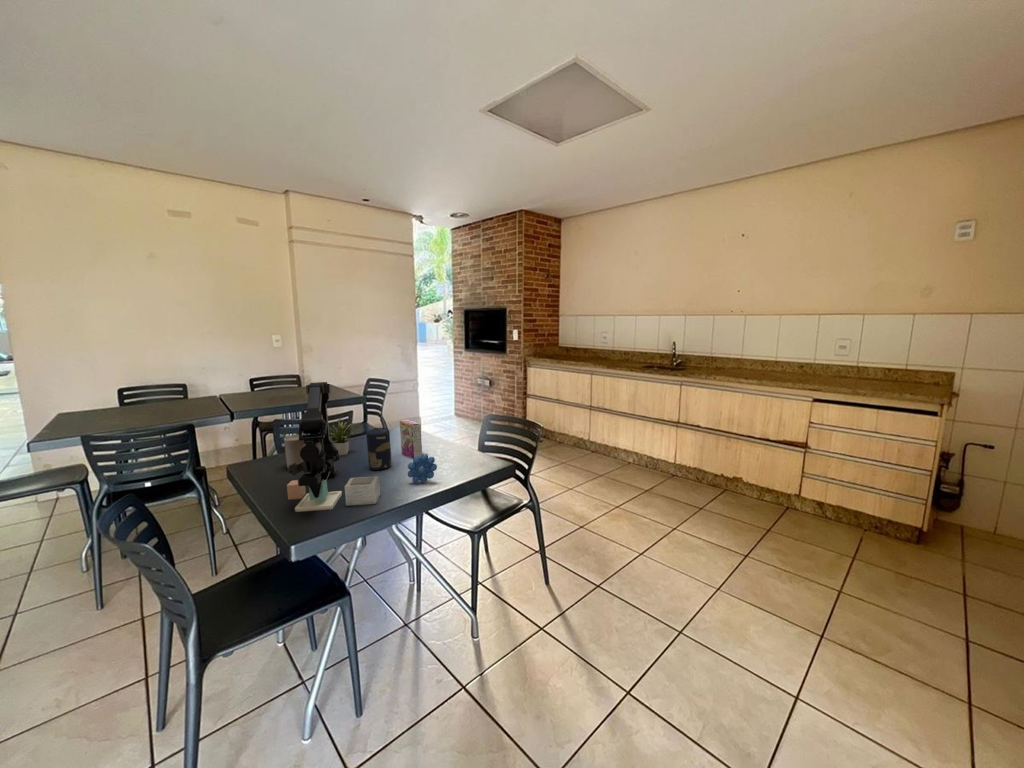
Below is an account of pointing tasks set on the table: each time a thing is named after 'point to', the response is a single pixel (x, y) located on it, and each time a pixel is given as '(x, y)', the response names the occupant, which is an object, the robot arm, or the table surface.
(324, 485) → the teal block
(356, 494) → the box
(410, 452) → the candy bar box
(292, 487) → the terracotta block
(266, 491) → the table surface
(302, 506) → the tray
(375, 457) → the canister
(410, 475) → the blue knobby flower
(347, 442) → the house plant
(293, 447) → the pillar candle
